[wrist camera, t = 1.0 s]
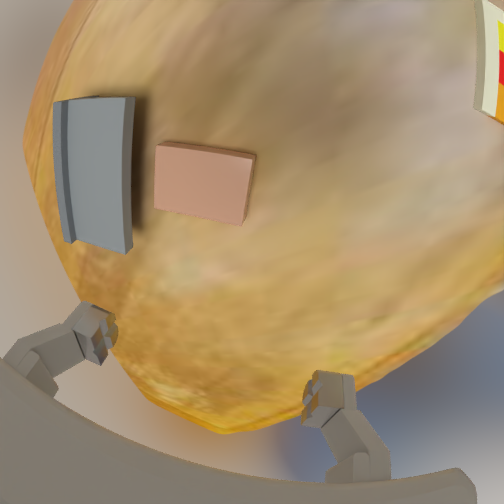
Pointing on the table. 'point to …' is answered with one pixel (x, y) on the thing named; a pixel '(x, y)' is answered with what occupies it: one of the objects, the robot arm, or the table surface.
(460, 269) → the table surface
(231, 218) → the tile
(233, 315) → the table surface
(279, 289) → the table surface
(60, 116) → the grey block
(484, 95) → the puzzle game
